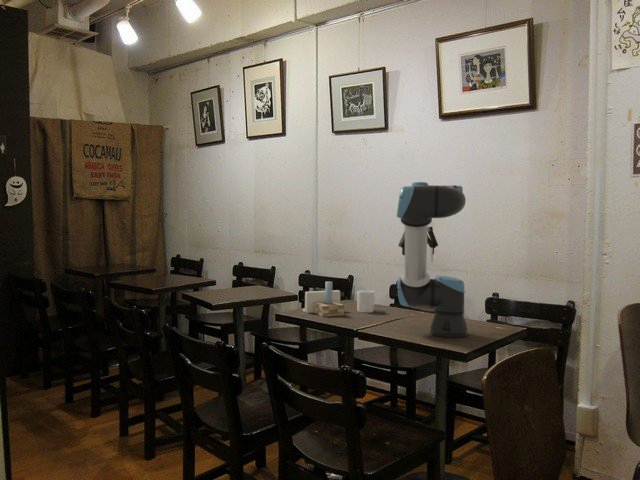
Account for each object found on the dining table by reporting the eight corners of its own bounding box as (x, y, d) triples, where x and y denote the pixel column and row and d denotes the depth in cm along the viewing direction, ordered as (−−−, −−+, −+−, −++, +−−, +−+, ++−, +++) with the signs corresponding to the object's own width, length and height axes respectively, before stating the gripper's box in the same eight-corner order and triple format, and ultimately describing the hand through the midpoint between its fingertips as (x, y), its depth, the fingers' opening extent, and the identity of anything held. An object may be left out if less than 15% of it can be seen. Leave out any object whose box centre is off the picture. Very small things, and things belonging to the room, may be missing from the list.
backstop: (339, 310, 265) (340, 290, 264) (306, 312, 258) (307, 292, 257) (335, 309, 270) (335, 289, 269) (302, 311, 262) (303, 291, 262)
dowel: (333, 311, 255) (333, 282, 255) (326, 311, 254) (327, 282, 253) (330, 310, 258) (330, 281, 258) (323, 310, 257) (324, 281, 256)
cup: (353, 311, 264) (354, 291, 263) (366, 308, 273) (367, 288, 273) (367, 313, 259) (368, 293, 258) (380, 310, 268) (381, 290, 268)
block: (343, 315, 253) (343, 304, 253) (322, 316, 249) (323, 306, 249) (333, 311, 263) (334, 301, 263) (313, 312, 259) (313, 302, 259)
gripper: (436, 216, 252) (435, 260, 253) (391, 215, 242) (390, 261, 243) (446, 216, 245) (445, 262, 246) (400, 215, 235) (399, 263, 236)
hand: (418, 262), depth 245 cm, fingers open, 13 cm apart
